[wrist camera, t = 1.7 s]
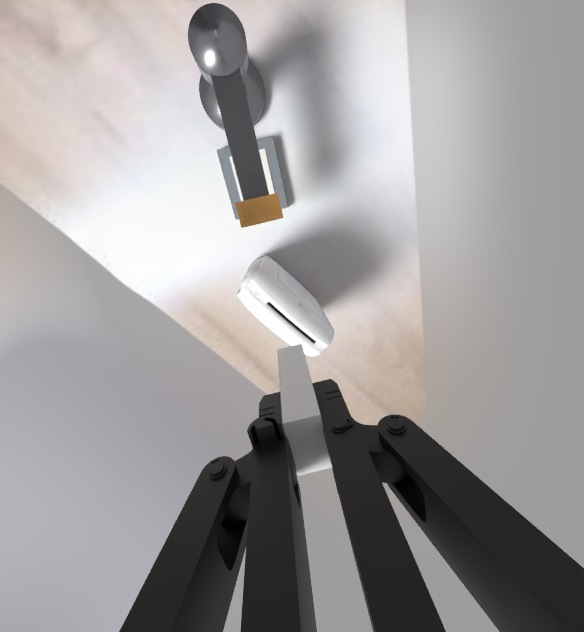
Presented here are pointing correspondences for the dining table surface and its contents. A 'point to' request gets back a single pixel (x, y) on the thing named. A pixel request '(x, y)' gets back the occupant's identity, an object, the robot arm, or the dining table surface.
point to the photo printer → (285, 306)
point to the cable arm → (233, 104)
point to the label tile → (269, 168)
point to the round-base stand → (253, 94)
